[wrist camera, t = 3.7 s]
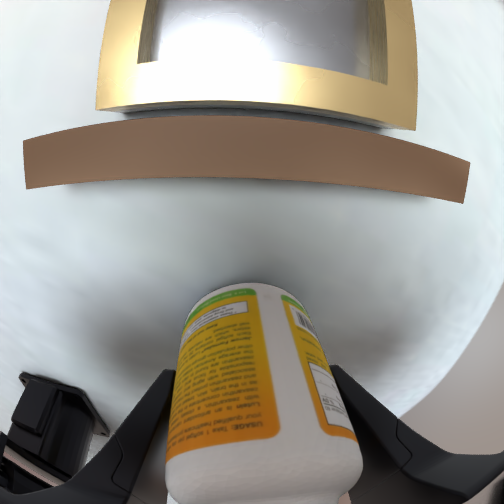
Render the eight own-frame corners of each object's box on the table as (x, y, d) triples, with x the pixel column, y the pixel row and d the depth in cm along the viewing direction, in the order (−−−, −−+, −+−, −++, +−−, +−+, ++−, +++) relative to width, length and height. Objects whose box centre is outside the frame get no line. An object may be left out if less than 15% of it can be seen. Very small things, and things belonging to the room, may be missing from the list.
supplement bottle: (177, 361, 12) (160, 562, 3) (196, 264, 10) (162, 585, 1) (283, 376, 13) (322, 555, 4) (328, 292, 11) (438, 523, 2)
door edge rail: (425, 187, 10) (463, 203, 8) (63, 174, 8) (26, 189, 6) (430, 152, 9) (470, 162, 7) (62, 134, 8) (23, 140, 5)
